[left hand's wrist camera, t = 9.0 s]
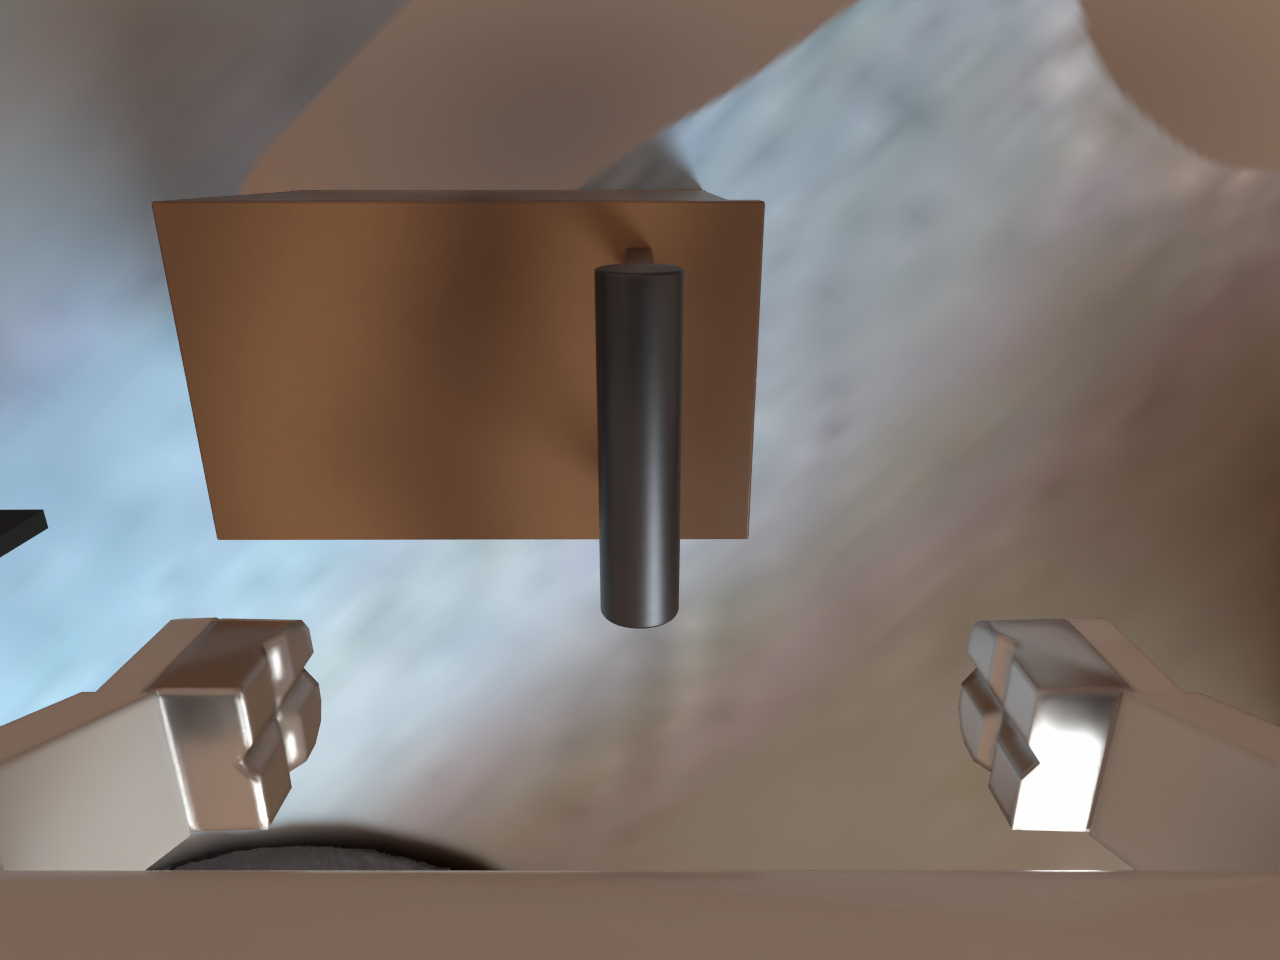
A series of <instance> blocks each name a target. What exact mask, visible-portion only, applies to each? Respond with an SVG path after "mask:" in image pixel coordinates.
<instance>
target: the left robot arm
mask: <svg viewBox="0 0 1280 960" xmlns="http://www.w3.org/2000/svg"><path fill="white" fill-rule="evenodd" d="M313 652H314V651H313V646H312V641H311V636H310V631H309V628H308V627H307V626H306V624H305V623H304V622H303V621H302V620H277V619H224V618H223V619H218V618H182V619H175V620H171V621H170V622H168V623H167V624H166V625H165V626H164V627H163V628H162V629H161V630H160V631H159V632H158V633H157V634H156V635H155V636H154V637H153V638H152V639H151V640H150V641H149V642H148V643H146V644H145V645H144V646H143V647H142V648H141V649H140V650H139V651H138V652H137V653H136V654H135V655H134V656H133V657H132V658H131V659H130V660H129V661H128V662H127V663H125V664H124V665H123V666H122V667H121V668H120V669H119V670H118V671H117V672H116V673H115V674H114V675H113V676H112V677H111V678H110V679H109V680H108V681H107V682H106V683H105V684H103V685H102V686H101V687H100V688H99V689H98V690H97V691H96V692H81V693H78V694H76V695H74V696H71V697H69V698H67V699H64V700H62V701H60V702H57V703H55V704H52V705H50V706H48V707H45V708H43V709H41V710H38V711H36V712H34V713H31V714H29V715H26V716H24V717H22V718H19V719H17V720H15V721H12V722H10V723H7V724H5V725H3V726H0V960H1280V727H1279V726H1277V725H1275V724H1272V723H1270V722H1268V721H1265V720H1263V719H1261V718H1258V717H1256V716H1253V715H1251V714H1249V713H1246V712H1244V711H1242V710H1239V709H1237V708H1235V707H1232V706H1230V705H1227V704H1225V703H1223V702H1220V701H1218V700H1216V699H1213V698H1211V697H1209V696H1206V695H1204V694H1202V693H1199V692H1184V691H1183V690H1182V689H1181V688H1180V687H1179V686H1178V685H1177V684H1176V683H1175V682H1173V681H1172V680H1171V679H1170V678H1169V677H1168V676H1167V675H1166V674H1165V673H1164V672H1163V671H1162V670H1161V669H1160V668H1159V667H1158V666H1157V665H1156V664H1155V663H1154V662H1153V661H1152V660H1150V659H1149V658H1148V657H1147V656H1146V655H1145V654H1144V653H1143V652H1142V651H1141V650H1140V649H1139V648H1138V647H1137V646H1136V645H1135V644H1134V643H1133V642H1132V641H1131V640H1130V639H1129V638H1127V637H1126V636H1125V635H1124V634H1123V633H1122V632H1121V631H1120V630H1119V629H1118V628H1117V627H1116V626H1115V625H1114V624H1113V623H1112V622H1111V621H1109V620H1106V619H1103V618H1099V617H1098V618H1074V619H1027V620H986V621H977V622H975V623H974V625H973V627H972V630H971V632H970V634H969V640H968V646H967V651H966V652H967V654H968V655H969V657H970V658H971V660H972V661H973V663H974V665H975V666H976V669H975V670H974V671H973V672H972V673H971V674H970V675H969V676H968V677H967V678H966V679H965V680H964V681H963V682H962V683H961V690H960V699H959V707H958V708H959V719H960V729H961V733H962V736H963V739H964V743H965V746H966V748H967V750H968V752H969V753H970V755H971V757H972V759H973V761H974V762H976V763H977V764H979V765H981V766H982V767H984V768H985V769H987V770H988V771H990V772H991V775H990V781H989V786H988V788H989V789H990V791H991V793H992V795H993V796H994V798H995V800H996V802H997V803H998V805H999V807H1000V809H1001V810H1002V812H1003V814H1004V816H1005V817H1006V819H1007V821H1008V823H1009V824H1010V826H1011V828H1012V829H1015V830H1052V831H1089V835H1090V836H1091V837H1092V838H1094V839H1095V840H1096V841H1098V842H1099V843H1100V844H1102V845H1103V846H1104V847H1105V848H1107V849H1108V850H1109V851H1111V852H1112V853H1113V854H1115V855H1116V856H1117V857H1119V858H1120V859H1121V860H1122V861H1124V862H1125V863H1126V864H1128V865H1129V866H1130V867H1132V868H1133V869H1134V870H779V871H778V870H776V871H566V870H565V871H564V870H563V871H562V870H561V871H560V870H559V871H558V870H557V871H556V870H555V871H554V870H548V871H547V870H146V869H147V868H149V867H150V866H151V865H153V864H154V863H155V862H156V861H158V860H159V859H160V858H162V857H163V856H164V855H166V854H167V853H168V852H170V851H171V850H172V849H174V848H175V847H176V846H177V845H179V844H180V843H181V842H183V841H184V840H185V839H187V838H188V837H189V836H190V835H191V833H190V832H191V831H227V830H262V829H268V828H269V826H270V825H271V823H272V821H273V819H274V818H275V816H276V814H277V812H278V811H279V809H280V807H281V805H282V804H283V802H284V800H285V798H286V796H287V795H288V793H289V791H290V789H291V788H292V786H291V781H290V775H289V772H290V771H292V770H293V769H295V768H296V767H298V766H299V765H301V764H303V763H304V762H306V761H307V759H308V757H309V755H310V753H311V751H312V750H313V748H314V746H315V744H316V739H317V735H318V731H319V727H320V722H321V696H320V689H319V683H318V682H317V681H316V680H315V679H314V678H313V677H312V676H311V675H310V674H309V673H308V672H307V671H306V670H305V669H304V666H305V665H306V663H307V661H308V660H309V658H310V657H311V655H312V654H313Z"/></svg>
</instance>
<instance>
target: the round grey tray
mask: <svg viewBox="0 0 1280 960" xmlns="http://www.w3.org/2000/svg"><path fill="white" fill-rule="evenodd" d="M163 870H450V869H449V867H448V869H447V868H439V867H435V866H434V865H429V864H427V863H426V862H421V861H419V862H418V863H417V862H416V860H414V861H413V859H412V860H410V859H409V858H405V857H403V856H400V855H399V857H396V856H395V855H393V856H391V855H390V854H388V855H386V854H385V853H384V852H383V853H380V852H378V851H377V850H374V849H370V850H367V849H356V848H355V849H343V848H342V847H338V848H335V847H333V846H331V847H329V846H326V847H325V846H322V847H320V846H309V845H306V847H303V846H301V845H296V846H294V847H290V846H284V847H279V848H276V847H275V848H272V847H270V848H266V847H262V848H258V849H251V850H250V851H247V850H245V851H242V850H239V851H228V852H218V853H210V854H207V855H205V856H201V857H198V858H194V859H190V860H188V861H182V862H179V863H178V864H174V865H170V866H168V867H166V868H165V869H163Z"/></svg>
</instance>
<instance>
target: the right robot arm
mask: <svg viewBox="0 0 1280 960" xmlns="http://www.w3.org/2000/svg"><path fill="white" fill-rule="evenodd" d="M47 528H48V526H47V522H46V518H45V515H44V511H43V510H0V557H2V556H3V555H5V554H7V553H8V552H10V551H11V550H13V549H15V548H16V547H18V546H20V545H21V544H23V543H24V542H26V541H28V540H29V539H31V538H33V537H34V536H36V535H38V534H39V533H41V532H42V531H44V530H46V529H47Z"/></svg>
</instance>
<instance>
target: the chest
mask: <svg viewBox="0 0 1280 960" xmlns="http://www.w3.org/2000/svg"><path fill="white" fill-rule="evenodd" d="M182 200H726V199H724V198H721V197H718V196H716V195H713V194H710V193H708V192H706V191H705V190H300V191H290V192H278V193H264V194H250V195H237V196H223V197H209V198H195V199H182Z"/></svg>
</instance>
